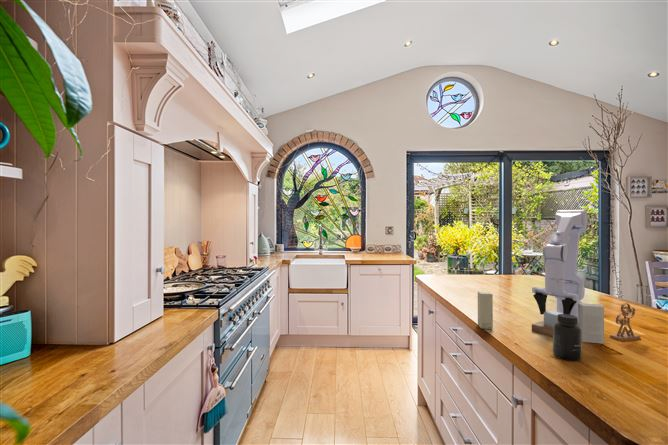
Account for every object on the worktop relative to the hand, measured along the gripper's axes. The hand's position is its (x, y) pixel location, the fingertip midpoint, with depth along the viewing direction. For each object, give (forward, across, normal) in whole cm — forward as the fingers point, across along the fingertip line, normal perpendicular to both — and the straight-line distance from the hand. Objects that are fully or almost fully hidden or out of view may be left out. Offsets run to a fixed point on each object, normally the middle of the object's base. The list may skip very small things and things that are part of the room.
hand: (554, 316), depth 119 cm
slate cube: (+3, 0, 0) cm, 3 cm away
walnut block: (+6, 0, 0) cm, 6 cm away
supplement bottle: (+6, +13, -19) cm, 24 cm away
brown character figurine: (+6, +15, +15) cm, 22 cm away
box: (+6, -16, -16) cm, 23 cm away
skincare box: (+6, +10, +2) cm, 12 cm away
